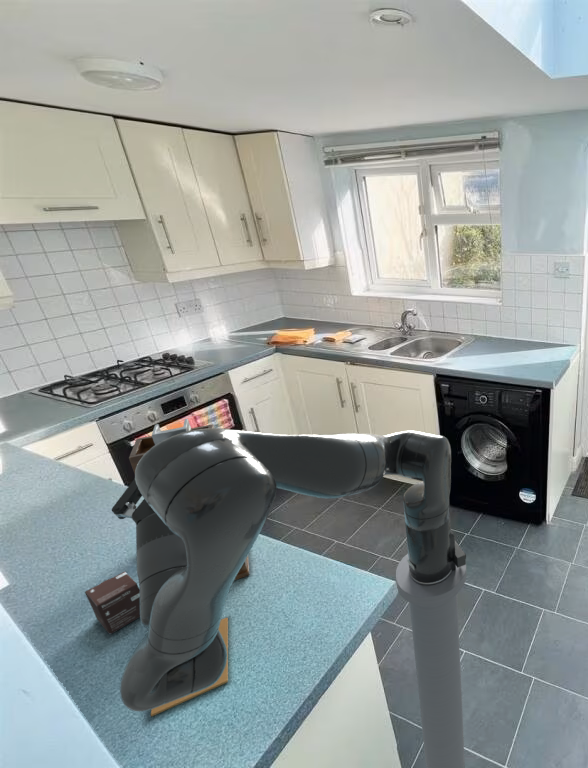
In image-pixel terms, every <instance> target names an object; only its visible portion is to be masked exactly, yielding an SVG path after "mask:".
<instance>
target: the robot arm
mask: <svg viewBox="0 0 588 768" xmlns="http://www.w3.org/2000/svg"><path fill="white" fill-rule="evenodd" d="M387 475H388V476H391V475H392V476H399V477H403V478H406V479H407V478H408V479H410V480H411V479H412V480H416V481H419V482H417V483H414V484H413V485H411V486H410V487H408V488H407V489H406V491H404V493H403V497H402V505H403V515H404V526H405V535H406V545H407V554H408V557H409V560H408V559H407V562H408V563H409V573H410V577H411V578H412V580H413V581H414V582H416V583H418V584H420V585H425V586H430V585H436V584H439V583H441V582H443V581H444V580H446V579H447V578H448V577H449V576H450V574H451V572H452V571H454V570H456V566H457V568H459V567H461V566H463V565H465V564H466V565H467V561H466V560H467V554H466V552H465V551H463V549H462V548H461V546H460V545H459V544H458V543H457V541H456V540H455V538H456V537H455V534H454V532H453V531H452V530H451V529H452V528H451V527H452V526H451V511H450V510H451V509H450V496H451V495H450V494H451V487H452V484H451V483H452V448H451V444H450V441H449V439H448V438H447V437H445V436H444V435H440V434H434V433H429V432H426V431H420V430H413V429H411V430H410V429H409V430H408V429H407V430H402V431H401V430H400V431H397V432H392V433H387V434H382V435H380V434H374V433H362V432H343V433H342V432H339V433H328V434H327V433H326V434H325V433H324V434H317V433H314V434H313V433H312V434H311V433H309V434H308V433H307V434H305V433H298V434H293V433H292V434H290V433H289V434H287V433H286V434H285V433H280V434H279V433H270V432H259V431H252V430H251V431H250V430H241V429H233V428H232V429H231V428H221V427H219V428H218V427H217V428H216V427H214V428H207V429H197V430H192V431H187V432H184V433H181V434H177V435H174V436H172V437H170V438H167V439H165V440H163V441H161V442H160V443H158V444H157V445H155V446H153V447H152V448H151V449H150V450H149V451H147V452H146V453H145V454H144V455H143V457H142V458H141V459H140V461H139V462H138V464H137V467H136V470H135V473H134V479H133V480H132V481H131V482H130V484H129V485H128V487H127V488H126V489H125V490H124V492H123V493H122V495H120V497H119V498H118V499H117V501H116V503H115V504H114V505H113V506H112V508H111V512H112V513H113V514H114V516H116V518H117V519H119V520H124V519H131V520H132V521H133V522H134V523H135V541H136V543H135V545H136V547H135V548H136V551H135V552H136V575H137V581H138V587H139V594H140V617H139V621H140V624H141V625H142V626H143V627H144V628H146V629H147V632H146V633H145V635H144V637H143V638H142V640H141V641H140V643H139V644H138V645H137V646H136V648H135V649H134V651H133V652H132V654H131V656H130V657H129V659H128V661H127V663H126V664H125V667H124V670H123V672H122V675H121V678H120V683H119V695H120V700H121V702H122V704H123V706H124V707H125V708H126V709H128V710H130V711H133V712H139V713H142V712H148V711H151V710H152V709H154V708H156V707H159V706H161V705H163V704H167V703H169V702H172V701H174V700H177V699H179V698H182V697H185V696H187V695H190V694H193V693H195V692H198V691H201V690H203V689H205V688H208V687H210V686H211V685H213V684H214V683H216V682H217V680H218V679H219V678H220V677H221V675H222V673H223V671H224V669H225V666H226V662H227V649H226V645H225V643H224V640H223V638H222V635H221V633H220V631H219V630H218V629H219V625H220V621H221V620H222V619H223V614H224V609H225V606H226V602H227V598H228V595H229V592H230V590H231V587H232V585H233V583H234V581H235V580H234V579H235V577H236V575H237V574H238V572H239V570H240V569H241V567H242V565H243V563H244V562H245V560H246V558H247V556H249V554H250V553H251V551H252V548H253V547H254V545H255V542H256V541H257V539H258V538H259V535H260V533H261V532H262V530H263V528H264V526H265V524H266V523H267V520H268V518H269V516H270V514H271V512H272V509H273V506H274V504H275V500H276V497H277V491H278V490H277V489H280V490H285V491H288V492H292V493H295V494H299V495H303V496H309V497H312V498H319V499H326V500H329V499H332V500H333V499H340V498H341V499H342V498H345V497H349V496H353V495H358V494H361V493H365V492H368V491H370V490H371V489H373V488H374V487H376V486H378V484H379V483H380V482H381V481H382V479H383V478H384V476H387ZM142 497H143V500H142V501H141V502H140V503H139V504H138V502H139V501H140V500H141V498H142ZM137 504H138V506H137Z"/></svg>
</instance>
